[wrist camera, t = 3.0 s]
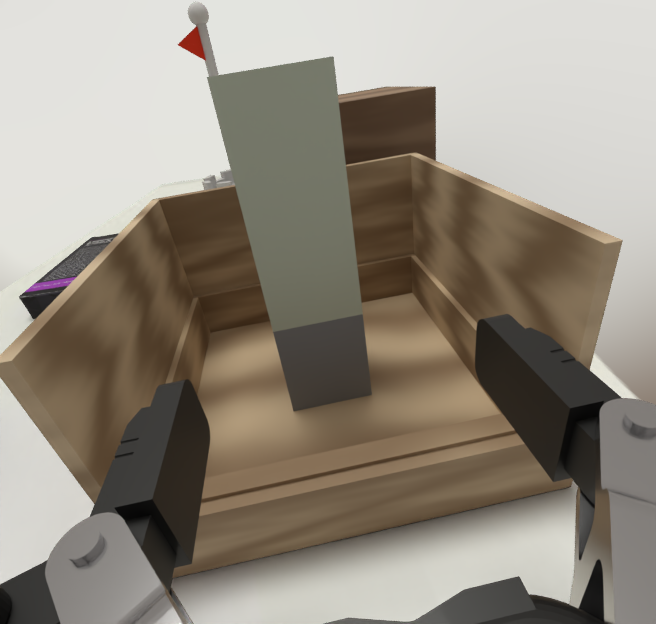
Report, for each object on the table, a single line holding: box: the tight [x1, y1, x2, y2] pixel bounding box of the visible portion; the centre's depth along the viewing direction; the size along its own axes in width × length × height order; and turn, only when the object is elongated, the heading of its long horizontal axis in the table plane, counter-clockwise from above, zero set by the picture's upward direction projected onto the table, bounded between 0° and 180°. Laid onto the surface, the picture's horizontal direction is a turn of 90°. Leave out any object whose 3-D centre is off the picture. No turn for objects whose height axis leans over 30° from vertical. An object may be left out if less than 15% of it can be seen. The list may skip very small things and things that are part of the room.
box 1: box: [19, 234, 118, 319], centre depth 51 cm, size 14×4×20 cm
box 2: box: [207, 57, 372, 411], centre depth 22 cm, size 5×5×18 cm
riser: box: [338, 87, 436, 165], centre depth 40 cm, size 14×14×16 cm
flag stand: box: [178, 2, 235, 190], centre depth 66 cm, size 13×13×30 cm
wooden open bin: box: [0, 152, 622, 578], centre depth 24 cm, size 21×20×12 cm
